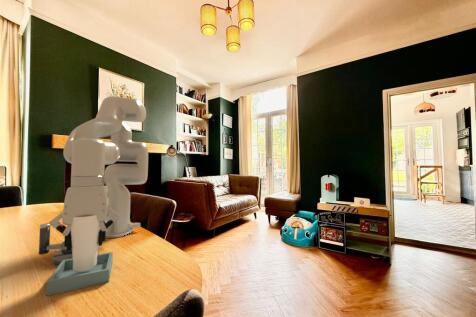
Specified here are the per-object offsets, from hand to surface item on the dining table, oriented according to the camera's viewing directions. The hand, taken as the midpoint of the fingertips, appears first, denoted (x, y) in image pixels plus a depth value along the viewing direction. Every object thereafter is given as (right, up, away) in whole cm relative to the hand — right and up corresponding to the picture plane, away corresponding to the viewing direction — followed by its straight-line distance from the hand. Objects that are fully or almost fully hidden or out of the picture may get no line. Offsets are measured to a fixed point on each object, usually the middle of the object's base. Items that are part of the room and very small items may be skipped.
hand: (85, 245), depth 56 cm
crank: (-15, -6, +9) cm, 18 cm away
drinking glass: (0, -6, 0) cm, 6 cm away
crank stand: (-15, -9, +13) cm, 21 cm away
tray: (0, -8, -1) cm, 8 cm away
